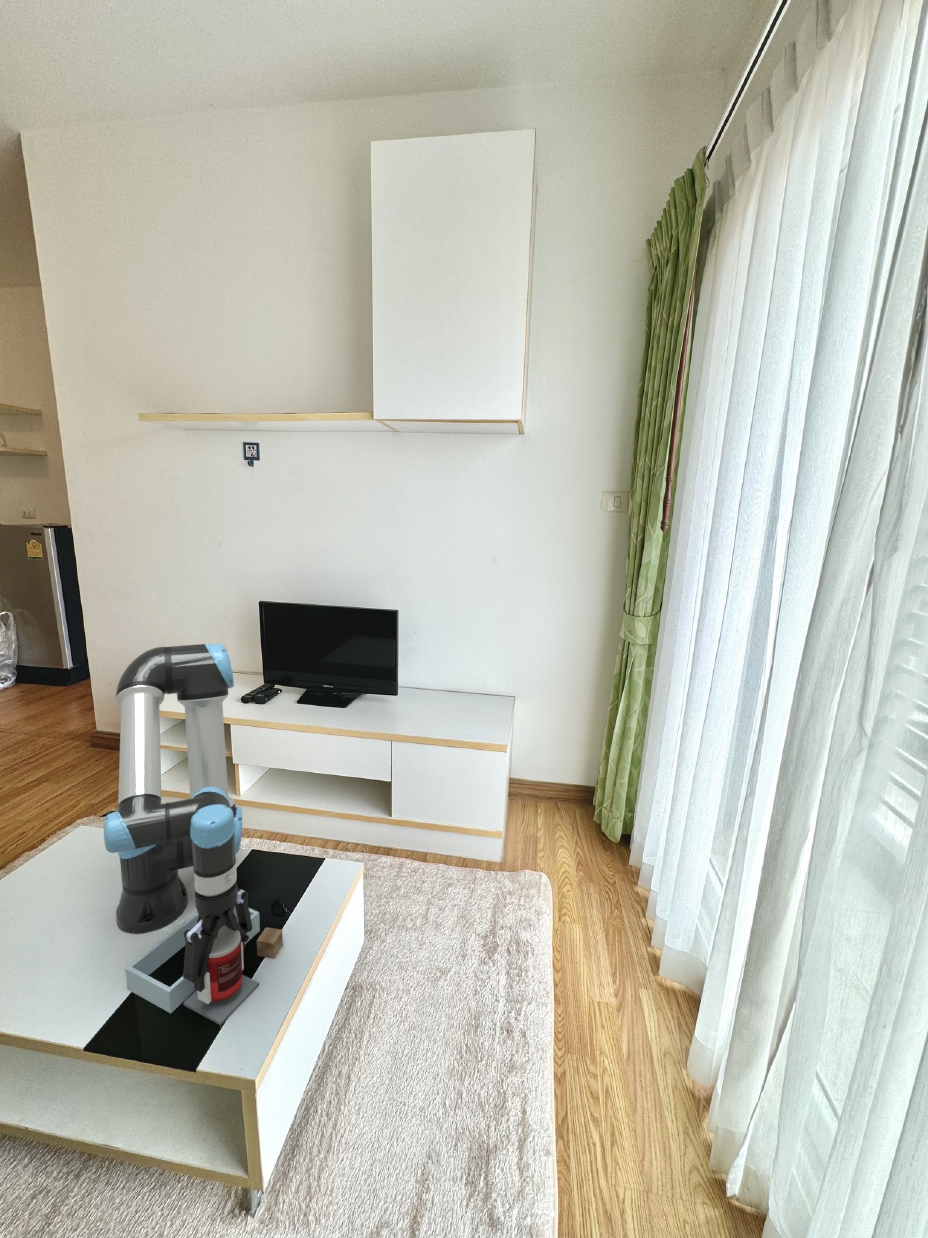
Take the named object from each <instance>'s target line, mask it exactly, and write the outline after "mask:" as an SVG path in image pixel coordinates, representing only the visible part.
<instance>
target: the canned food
mask: <svg viewBox="0 0 928 1238" xmlns="http://www.w3.org/2000/svg"><path fill="white" fill-rule="evenodd" d="M206 972H208V973H210V989H211V1001H214V1002H215V1001H222V1000H225V999H227V998H229V997H231V996H232V995H234V994H235V993H236V992H237V991H238V989H239V988H240V986H241V982H242V975H243V970H242V953H241V936H240V932H239V931H238V930H237V931H234V930H232V929H230V928H228V927H227V926H226V925H224V926H222V927H221V929H220V930H219V931H218V935H217V938H216V939H215V940H214V942H213V946H212V950H211V954H210V955H209V962H208V966H207V970H206Z"/></svg>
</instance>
